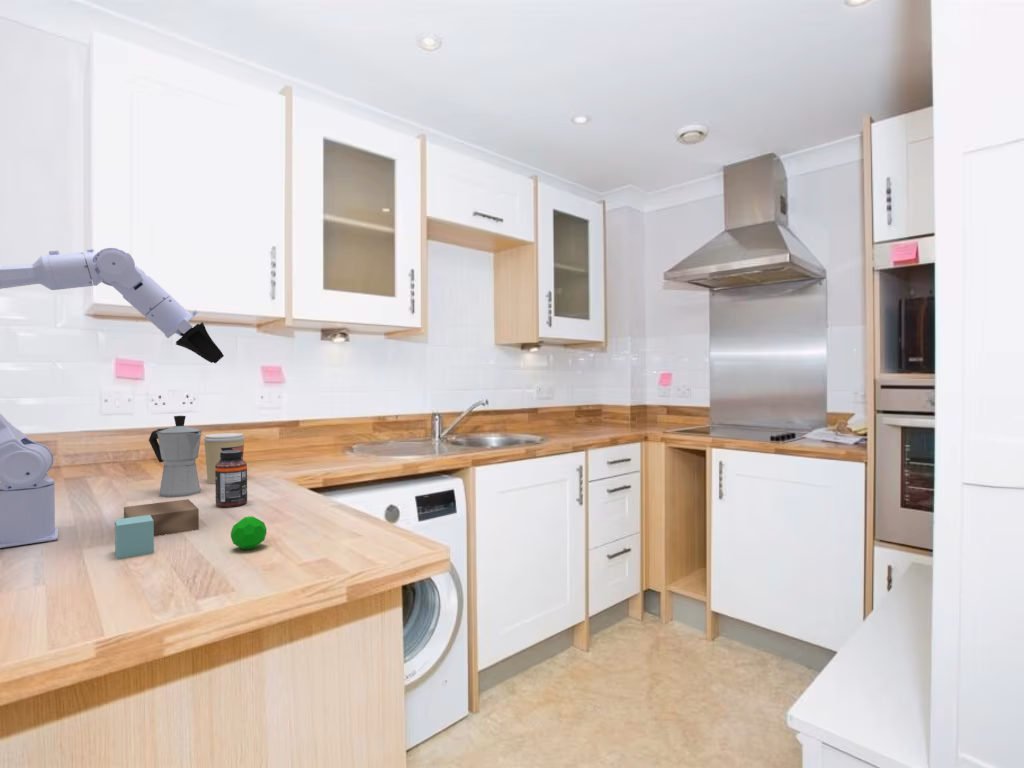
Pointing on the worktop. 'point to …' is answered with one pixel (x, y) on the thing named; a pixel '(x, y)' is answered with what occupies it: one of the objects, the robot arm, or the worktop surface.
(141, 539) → the teal block
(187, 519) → the walnut block
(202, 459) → the worktop surface
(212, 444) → the coffee cup
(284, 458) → the worktop surface
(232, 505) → the supplement bottle
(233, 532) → the polyhedron
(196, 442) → the coffee maker
